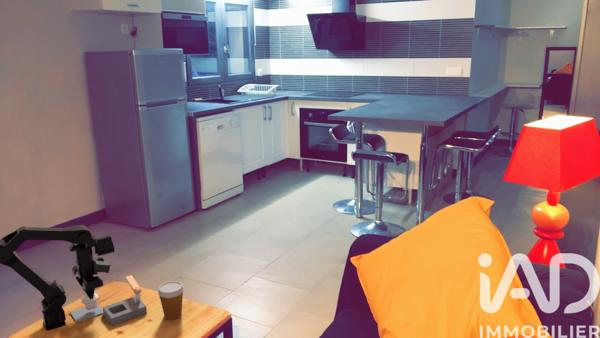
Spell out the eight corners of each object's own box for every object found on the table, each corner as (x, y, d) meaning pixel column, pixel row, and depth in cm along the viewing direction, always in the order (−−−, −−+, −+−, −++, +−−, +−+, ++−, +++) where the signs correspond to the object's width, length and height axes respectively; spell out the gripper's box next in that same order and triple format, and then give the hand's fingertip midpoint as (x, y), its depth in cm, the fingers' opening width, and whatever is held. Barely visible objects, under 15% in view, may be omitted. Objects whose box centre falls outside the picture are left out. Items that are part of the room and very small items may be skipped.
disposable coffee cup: (158, 312, 179) (155, 283, 176) (183, 306, 183) (181, 278, 180) (162, 324, 170) (159, 295, 167) (188, 318, 174) (186, 289, 171)
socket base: (112, 325, 170) (110, 308, 168) (103, 314, 178) (101, 297, 176) (146, 313, 178) (145, 296, 176) (137, 302, 186) (135, 286, 184)
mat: (76, 323, 172) (76, 321, 172) (70, 312, 179) (69, 311, 179) (104, 313, 178) (104, 312, 178) (97, 303, 185) (96, 302, 185)
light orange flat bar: (125, 279, 189) (125, 276, 189) (132, 277, 191) (131, 275, 190) (135, 294, 178) (134, 291, 177) (141, 292, 179) (141, 289, 179)
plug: (85, 313, 174) (83, 296, 172) (80, 306, 178) (78, 290, 177) (101, 307, 178) (99, 291, 176) (96, 301, 182) (94, 285, 180)
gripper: (115, 261, 171) (119, 299, 175) (99, 245, 185) (103, 281, 189) (83, 270, 164) (88, 309, 168) (69, 253, 178) (74, 290, 182)
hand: (89, 296), depth 177 cm, fingers closed on plug, 4 cm apart
